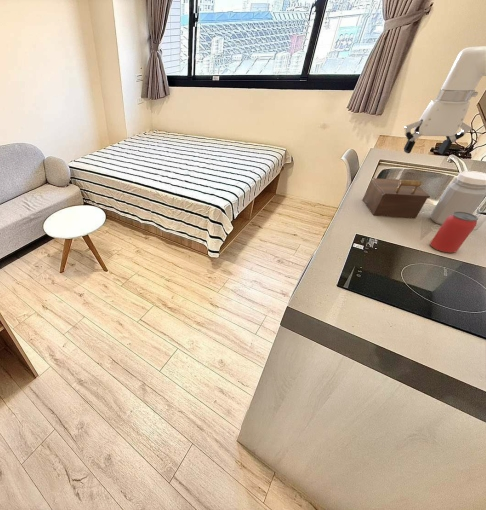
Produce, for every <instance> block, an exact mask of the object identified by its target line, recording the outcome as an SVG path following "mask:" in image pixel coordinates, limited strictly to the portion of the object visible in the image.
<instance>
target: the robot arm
mask: <svg viewBox="0 0 486 510" xmlns="http://www.w3.org/2000/svg"><path fill="white" fill-rule="evenodd" d="M484 76H485V77H486V45H482V46H481V45H480V46H479V45H478V46H469V47H465V48H463V49H462V50H461V51H460V52H459V53H458V54H457V56H456V59H455V60H454V62H453V64H452V66H451V68H450V70H449V72H448V73H447V76H446V78H445V80H444V82H443V84H442V86H441V88H440V90H439V92H438V94H437V96H436V97H435V100H431V101H430V103H428V104H427V107H426V108H425V109H424V111H423V113H422V114H421V116H420V117H419V119H418V121H415V122H412V123H410V124H407V125H405V126H404V127H403V128H404V129H403V131H404V135H405V137H406V139H407V141H406V143H405V145H404V147H403V152H404V153H406V154H411V152H412V150H413V148H414V146H415V144H416V140H418V139H419V138H421V137H422V136H423V137H445V138H446V139H444V140H443V141H442V143H441V145H440V146H439V148H438V150H437V153H439V154H440V155H443V156H445V155H446V153H447V152H448V151H449V149H450V148H451V146H452V145H453V143H455V142H456V141H457V140H459V139H461V138H462V137H464V136H465V135H466V134H467V133H468V132H470V131H471V130H472V127H471V126H470V125H468V124H467V123H465V122H464V121H465V118H466V116H467V113H468V111H469V108H470V105H471V101H470V100H471V99H472V98H474V97H475V98H476V97H477V96H478V94H479V91H476V89H477V87H478V85H479V83H480V82H481V80H482V78H483V77H484ZM459 129H461V130H460V131H459ZM412 130H413V132H412ZM458 131H459V132H458Z"/></svg>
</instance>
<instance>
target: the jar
mask: <svg viewBox="0 0 486 510" xmlns="http://www.w3.org/2000/svg"><path fill="white" fill-rule="evenodd" d="M485 198H486V172H483V171H482V172H481V171H475V170H474V171H473V170H463V171H460V172H459V173H458V174H457V176H456V179H454V182H452V183H450V184H448V185H447V187H446V189H445V191H444V192H443V193H442V195H441V197H440V198H439V200H438V202H437V204H436V205H435V206H434V208H433V210H432V212H431V213H430V219H431V221H432V222H433V223H435V224H437V225H440V226H442V225H443V223H444V222H445V220H446V219H447V218H448V217H449V216H450V215H452V213H454V212H466V213H470V214H473V215H474V213H475V212H476V210H477V209H478V207H479V206H480V205H481V203H482V202H483V200H484V199H485Z"/></svg>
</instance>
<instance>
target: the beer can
mask: <svg viewBox="0 0 486 510" xmlns="http://www.w3.org/2000/svg"><path fill="white" fill-rule="evenodd" d="M478 220H479V217H478V216H477V215H475V214H474V213H473V214H470V213H466V212H454V213H452V215H450V216H449V217H448V218H447V219H446V220H445V222H444V223H443V225H440V227H439V229H438V230H437V232H436V233H435V235H434V237H433V238H432V240H431V241H430V246H431V247H432V248H433V249H435V250H436V251H438V252H442V253H447V254H452V253H456V252H457V251H459V249H460V248H461V246H462V245H463V244H464V242H465V241H466V240H467V239H468V237H469V236H470V235H471V233H472V231H473V230H474V229H475V228H476V227H477V222H478Z"/></svg>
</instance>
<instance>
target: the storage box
mask: <svg viewBox="0 0 486 510" xmlns="http://www.w3.org/2000/svg"><path fill="white" fill-rule="evenodd" d="M427 200H428V198H419V197H403V196H387V195H383V193H382V192H381V191H380V190H379V189H378V188H377V186H376V185H375V184H374V183H373V182H372V180H370V182H369V183H368V185H367V189H366V191H365V193H364V195H363V198H362V201H363V202H364V204H365V206H366V207H367V209H368V210H369V212H370V213H371V214H372V215H373V216H376V217H386V218H387V217H388V218H403V219H417V217H418V215H419V214H420V212H421V210H422V208H423V207H424V205H425V203H426V201H427Z"/></svg>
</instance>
